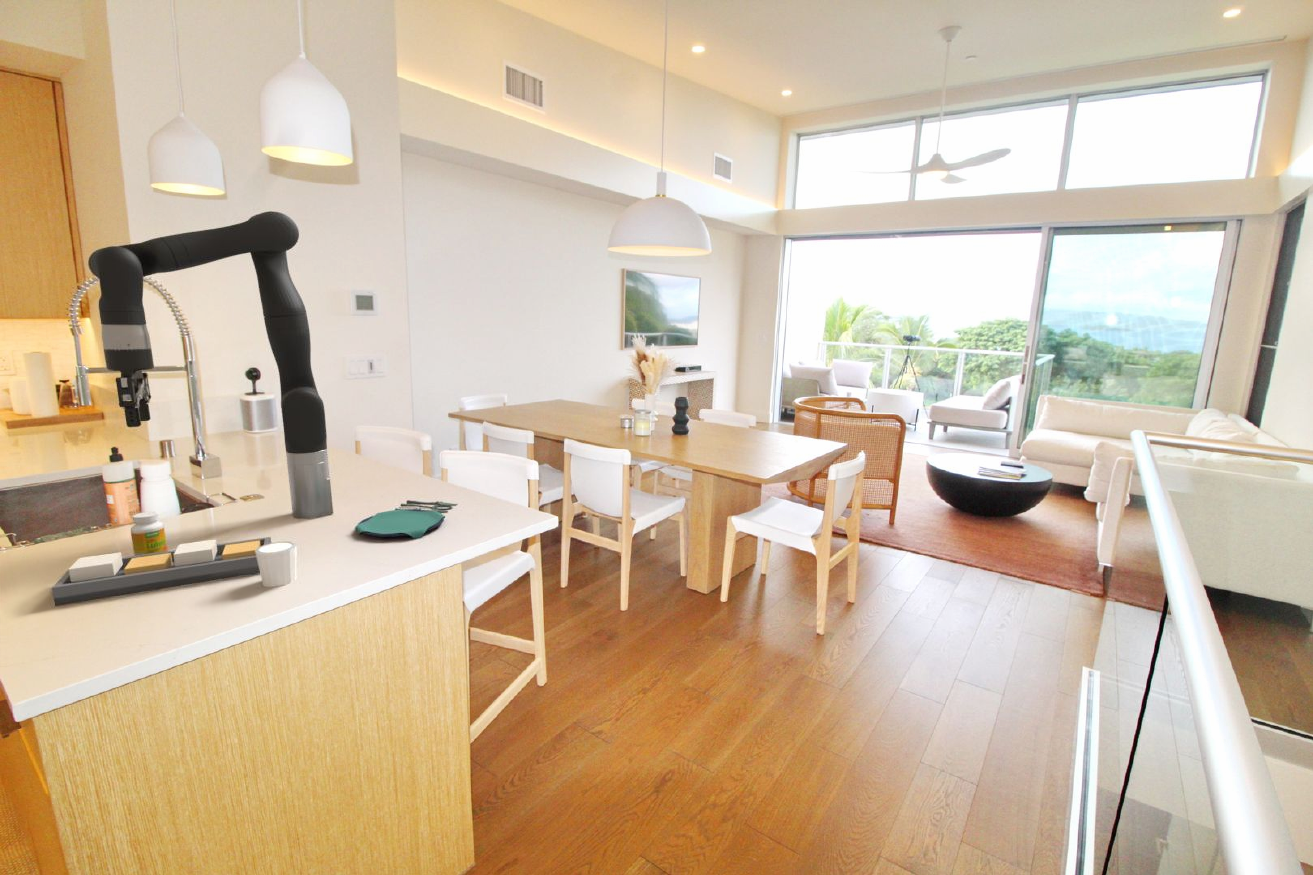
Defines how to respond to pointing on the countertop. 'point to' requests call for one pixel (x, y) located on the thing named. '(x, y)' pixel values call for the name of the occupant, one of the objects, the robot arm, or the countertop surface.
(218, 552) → the keypad base
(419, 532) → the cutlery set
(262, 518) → the countertop surface
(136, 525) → the supplement bottle
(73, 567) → the key
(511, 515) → the countertop surface
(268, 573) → the white cup
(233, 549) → the key
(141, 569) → the key
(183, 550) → the key
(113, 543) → the countertop surface
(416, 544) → the countertop surface
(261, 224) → the robot arm
